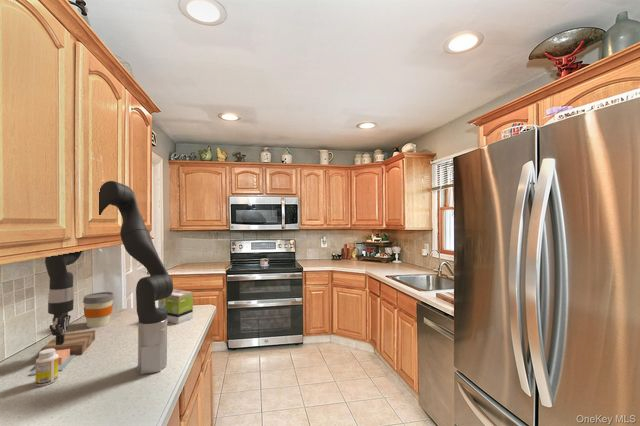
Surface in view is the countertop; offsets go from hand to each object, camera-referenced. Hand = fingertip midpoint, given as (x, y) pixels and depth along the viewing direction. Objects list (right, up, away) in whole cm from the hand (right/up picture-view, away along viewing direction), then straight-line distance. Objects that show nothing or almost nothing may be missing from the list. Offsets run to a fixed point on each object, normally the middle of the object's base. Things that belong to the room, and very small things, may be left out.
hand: (60, 344), depth 116 cm
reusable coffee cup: (-12, -6, +36) cm, 39 cm away
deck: (-3, -5, +8) cm, 10 cm away
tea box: (+24, -6, +44) cm, 50 cm away
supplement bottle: (+11, -5, -17) cm, 21 cm away
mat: (+3, -5, -6) cm, 8 cm away
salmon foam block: (+2, -5, -4) cm, 6 cm away
